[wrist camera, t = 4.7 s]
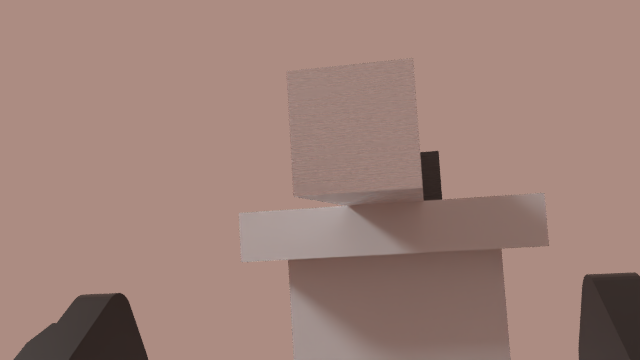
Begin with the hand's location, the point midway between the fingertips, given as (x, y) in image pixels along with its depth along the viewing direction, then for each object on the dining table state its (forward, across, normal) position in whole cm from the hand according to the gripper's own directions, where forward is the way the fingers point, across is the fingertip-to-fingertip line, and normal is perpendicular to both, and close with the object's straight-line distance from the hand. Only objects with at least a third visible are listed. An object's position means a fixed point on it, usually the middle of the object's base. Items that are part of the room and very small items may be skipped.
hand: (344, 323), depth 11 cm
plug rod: (+15, 0, +6) cm, 16 cm away
